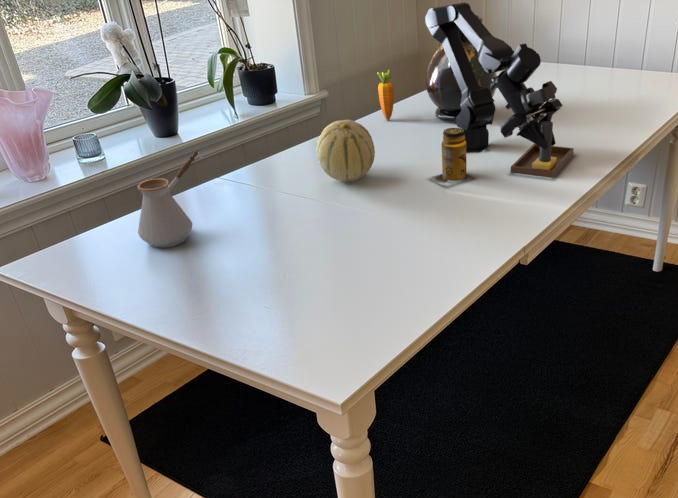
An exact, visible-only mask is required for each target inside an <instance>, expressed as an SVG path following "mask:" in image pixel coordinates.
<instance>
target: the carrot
mask: <svg viewBox="0 0 678 498" xmlns="http://www.w3.org/2000/svg"><path fill="white" fill-rule="evenodd" d="M391 72H392V71H391V69H387V72H383V71H382V72H380V71H378V72H377V73H376V74H377V76H378V77H379V79H380V80H381V82H379V84H378V86H377V90H378V100H379V105H380V109H381V112H382V115H383V116H384V118H385V120H386V121H387V122H389V121H390V120H391V118H392V116H393V111H394V103H395V91H394V90H395V89H394V83H393V82H391V81H389V80H390V79H391V77H392V76H391Z"/></svg>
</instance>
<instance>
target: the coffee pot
mask: <svg viewBox="0 0 678 498" xmlns="http://www.w3.org/2000/svg"><path fill="white" fill-rule="evenodd" d="M198 154H199V155H200V157H199V155H198ZM201 156H202V157H201ZM195 158H197V159H200V160H201V159H203V158H204V155H203V154H202V153H201V152H199V151H198V150H195V151H194V152H193V153H192V155H189V156H188V160H187V161H186V162H184V163H183V165H182V166H181V168H180V169H179V171H178V172H177V174H176V175H175V177H174V179H173V180H172V181H171V182H170V181H169V180H168V179H167V178H151V179H147V180H144V181H141V182H140V183H139V184H137V187H136V188H137V190H138V191H140V192H141V194H142V202H141V208H140V215H139V222H138V227H137V229H138V230H137V234H138V236H139V238H140V239H141V240H142V241H144V243H146V244H148V245H151V246H152V247H154V248H160V249H162V248H172V247H176V246H177V245H180V244H182V243H184V242H185V241H186V240H187V238H188V237H189V236H190V234H191V232H192V230H193V222H192V220H191V219H190V217H189V216H188V215H187V214H186V212H185V211H184V210H183V208H182V207H181V206H180V204H179V203H178V202H177V201H176V199H175V198H174V197H173V195H172V194H171V193H170V192H171V191H172V189H173V188H174V187H175V185H176V184H177V183H178V182H179V180H180V179H181V178H182V177H183V175H184V174H185V173H186V172H188V171H187V170H188V169H189V168H190V167H191V164H193V163H192V162H194V161H195Z"/></svg>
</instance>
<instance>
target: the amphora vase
mask: <svg viewBox="0 0 678 498" xmlns="http://www.w3.org/2000/svg"><path fill="white" fill-rule="evenodd" d="M475 15H476V16H477V18H478V19H479V20H480V21H481V22H482V23H483V22H484V18H483V17H482V16H481V15H479V14H475ZM459 37H460V39H461V42H462V44H463V47H464V49H465V52H466V54H467V57H468V59H469V62H470V64H471V67H472V69H473V71H474V74H475V76H476V79H477V81H478V84H479V86H481V87H482V88H487V87H488V88H489V90H490V92H491V96H492V98H493V97H494V96H495V93H496V90H497V88H496V89H494V90H491V84H492V78H494V77H496V76H498V74H497V72H494V73H487V72H486V71H485V70H484V69H483V67H482V65H481V63H480V62H479V60H478V51H477V50H476V48H475V47H474V46H473V44H472V43H471V42H470V41H469V40H468V38H467V37H466V36H465V35H464V33H463V32H462V31H461V30H459ZM426 70H427V71H426V76H425V86H426V92H427V94H428V97H429V99H430V101H431V102H432V103H433V104H434V105H435V106H436V109H435V111H434V113H435V116H436V118H437V119H438V120H440V121H443V122H446V123H452V124H457V123H456V118H457V116H458V115H459V114H460V112H461V111H462V110H461V106H460V104H461V98H462V93H461V90H460V88H459V85H458V83H457V80H456V78H455V75H454V73H453V70H452V68H451V65H450V63H449V60H448V58H447V55H446V53H445V51H444V48H443V46H442V44H440V46H439V47H438V49H437V50H436V51H435V52H434V54H433V55H432V57H431V59H430V61H429V63H428V67H427V69H426Z"/></svg>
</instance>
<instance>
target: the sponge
mask: <svg viewBox="0 0 678 498" xmlns="http://www.w3.org/2000/svg"><path fill="white" fill-rule="evenodd" d="M553 129H554V122H553V121H551V122H550V121H544V122H542V123H541V133H542V135H543V137H544V139H545V140H546V142H547V145H548V148H547V149H543V148H542V147H540V154H539V157H538V158H537V159H536V160H535V161H534V162H533V165H532V168H535V169H543V170H551V171H552V170H553V168H554V167H555V166H556V163H557V157H551V146H552V131H553V132H554V130H553Z"/></svg>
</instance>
